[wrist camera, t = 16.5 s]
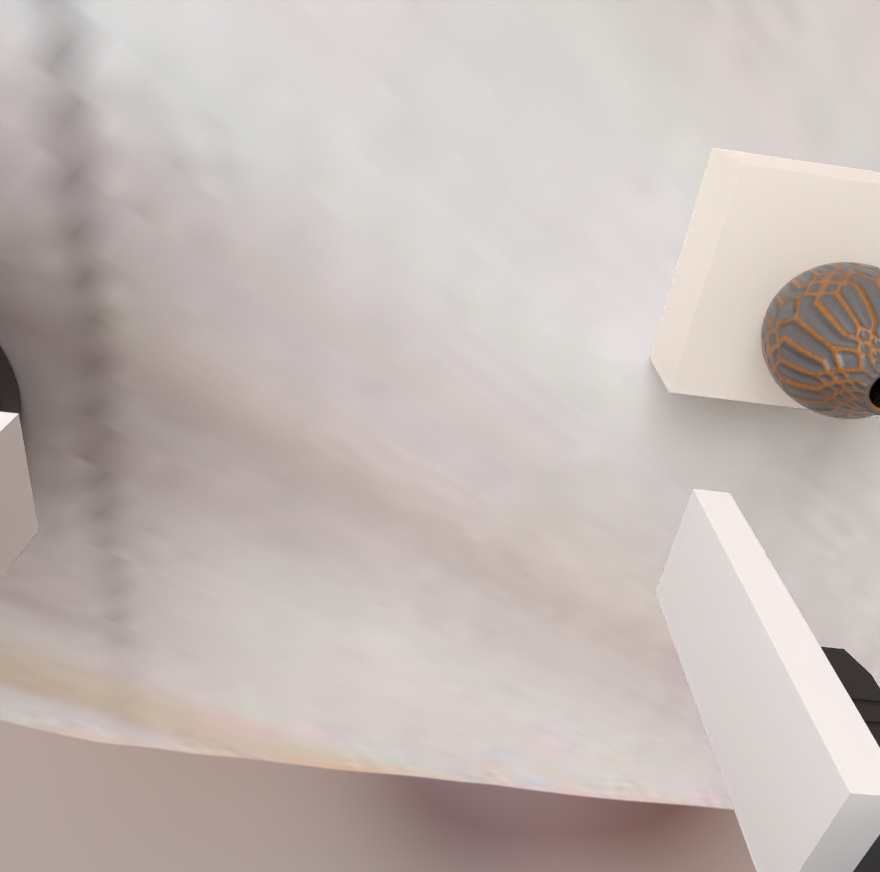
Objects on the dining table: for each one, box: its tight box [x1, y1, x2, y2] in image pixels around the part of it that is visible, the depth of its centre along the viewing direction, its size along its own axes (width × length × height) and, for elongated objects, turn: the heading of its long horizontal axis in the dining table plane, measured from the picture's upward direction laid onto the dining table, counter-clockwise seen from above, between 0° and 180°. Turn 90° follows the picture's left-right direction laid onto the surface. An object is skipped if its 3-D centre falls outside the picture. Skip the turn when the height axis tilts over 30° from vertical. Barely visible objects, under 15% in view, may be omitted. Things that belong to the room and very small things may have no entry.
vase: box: [761, 262, 880, 419], centre depth 34 cm, size 7×7×9 cm
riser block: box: [649, 148, 880, 418], centre depth 40 cm, size 12×12×5 cm
